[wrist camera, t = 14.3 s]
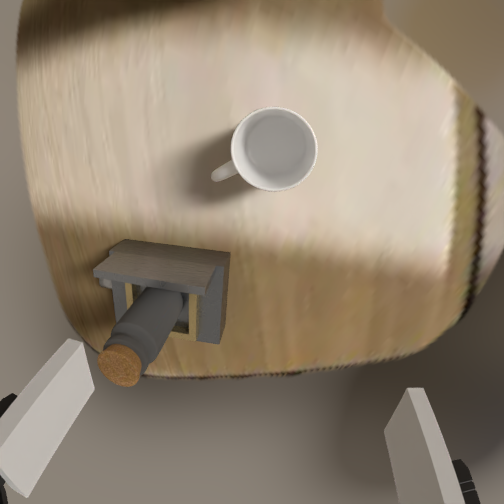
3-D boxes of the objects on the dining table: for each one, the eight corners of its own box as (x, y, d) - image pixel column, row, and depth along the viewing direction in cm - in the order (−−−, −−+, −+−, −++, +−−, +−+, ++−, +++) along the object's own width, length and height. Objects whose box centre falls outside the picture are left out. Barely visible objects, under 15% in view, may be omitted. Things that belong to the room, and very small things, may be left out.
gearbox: (107, 236, 46) (67, 264, 36) (230, 252, 45) (214, 288, 35) (113, 305, 50) (81, 342, 40) (225, 325, 49) (210, 372, 39)
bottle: (176, 277, 41) (129, 345, 27) (189, 316, 43) (152, 391, 29) (138, 283, 42) (83, 346, 28) (151, 319, 44) (106, 389, 30)
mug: (234, 199, 42) (219, 220, 33) (206, 143, 40) (182, 146, 30) (319, 162, 39) (331, 171, 30) (292, 103, 37) (295, 92, 27)
